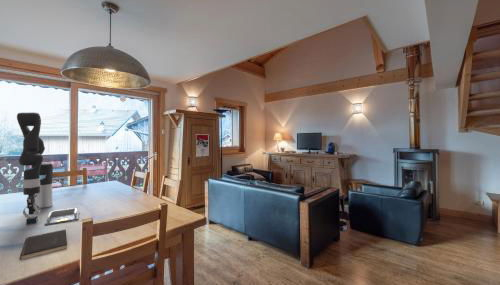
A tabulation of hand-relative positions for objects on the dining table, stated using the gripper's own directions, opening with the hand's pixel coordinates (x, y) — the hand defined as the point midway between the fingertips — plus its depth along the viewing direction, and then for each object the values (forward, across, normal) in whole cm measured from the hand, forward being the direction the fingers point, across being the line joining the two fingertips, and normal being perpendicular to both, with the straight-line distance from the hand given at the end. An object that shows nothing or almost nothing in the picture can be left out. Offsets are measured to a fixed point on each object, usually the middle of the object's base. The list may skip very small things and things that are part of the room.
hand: (32, 213), depth 139 cm
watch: (+6, 0, 0) cm, 6 cm away
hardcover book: (+7, +43, +11) cm, 45 cm away
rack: (+6, +2, +15) cm, 16 cm away
